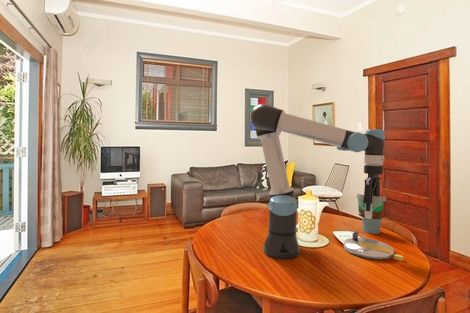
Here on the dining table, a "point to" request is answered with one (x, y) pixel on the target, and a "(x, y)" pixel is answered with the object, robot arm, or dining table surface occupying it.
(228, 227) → the dining table surface
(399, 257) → the index pointer
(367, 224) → the grey cup
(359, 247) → the grey plate
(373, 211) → the food container
